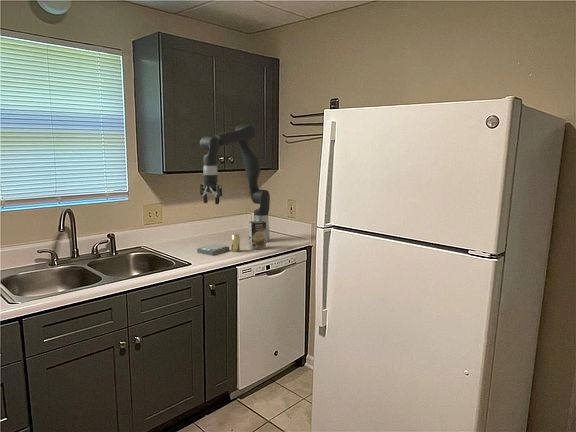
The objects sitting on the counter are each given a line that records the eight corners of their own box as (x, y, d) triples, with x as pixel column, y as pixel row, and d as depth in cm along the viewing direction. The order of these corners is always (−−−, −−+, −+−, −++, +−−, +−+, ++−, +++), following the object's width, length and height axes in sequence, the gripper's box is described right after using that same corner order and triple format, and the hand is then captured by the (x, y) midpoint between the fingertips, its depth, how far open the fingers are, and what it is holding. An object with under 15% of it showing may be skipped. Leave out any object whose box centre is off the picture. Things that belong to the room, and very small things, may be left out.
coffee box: (251, 250, 257) (251, 223, 255) (248, 247, 263) (248, 221, 261) (266, 248, 261) (266, 222, 258) (263, 246, 267) (263, 220, 264)
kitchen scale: (214, 248, 263) (214, 243, 262) (229, 250, 256) (229, 245, 255) (197, 252, 251) (197, 247, 251) (212, 255, 244) (212, 250, 244)
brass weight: (235, 249, 258) (234, 233, 256) (241, 251, 255) (241, 234, 254) (229, 251, 254) (229, 234, 252) (236, 252, 251) (235, 235, 250)
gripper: (225, 174, 236) (225, 203, 239) (205, 173, 244) (206, 202, 247) (215, 174, 230) (216, 205, 233) (196, 173, 238) (197, 203, 241)
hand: (211, 203), depth 240 cm, fingers open, 8 cm apart
